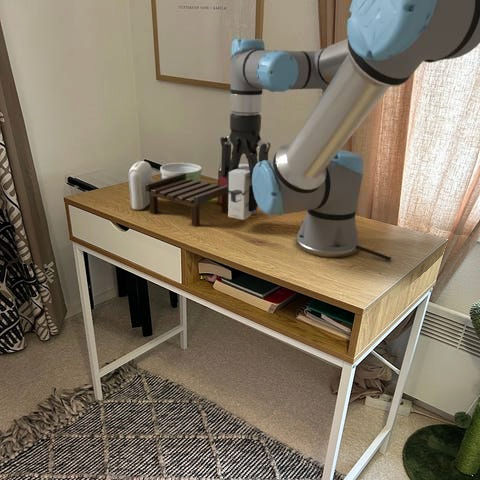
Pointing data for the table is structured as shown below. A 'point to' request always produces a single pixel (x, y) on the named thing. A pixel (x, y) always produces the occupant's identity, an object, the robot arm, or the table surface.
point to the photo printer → (139, 184)
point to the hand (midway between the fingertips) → (242, 207)
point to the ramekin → (181, 170)
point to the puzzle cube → (224, 180)
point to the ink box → (239, 193)
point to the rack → (186, 194)
